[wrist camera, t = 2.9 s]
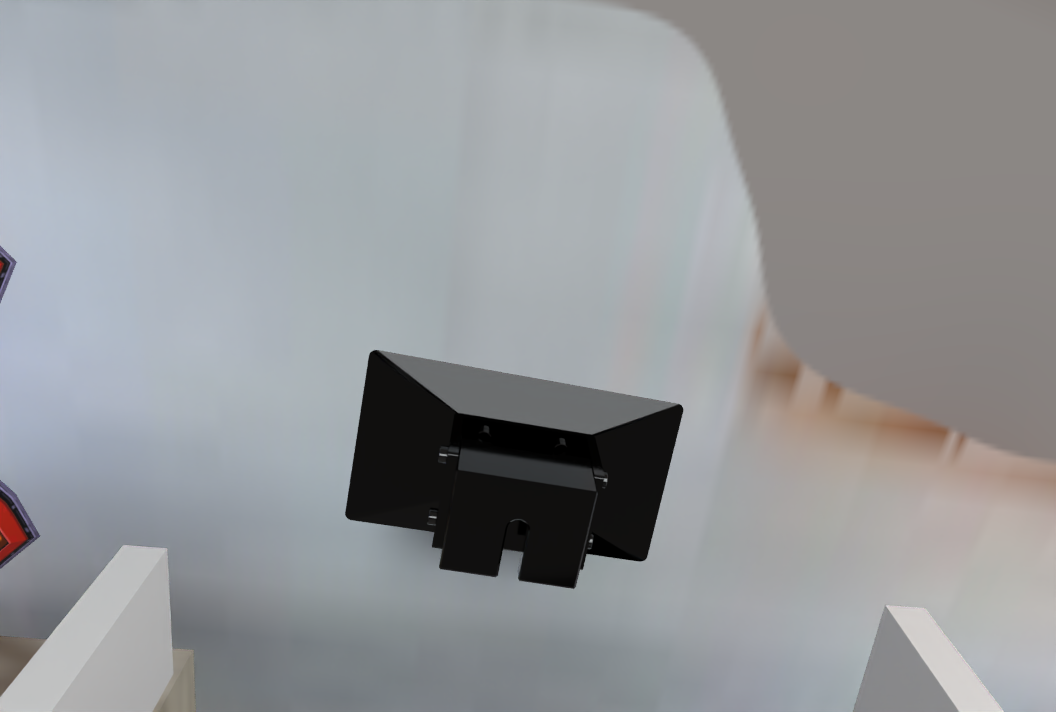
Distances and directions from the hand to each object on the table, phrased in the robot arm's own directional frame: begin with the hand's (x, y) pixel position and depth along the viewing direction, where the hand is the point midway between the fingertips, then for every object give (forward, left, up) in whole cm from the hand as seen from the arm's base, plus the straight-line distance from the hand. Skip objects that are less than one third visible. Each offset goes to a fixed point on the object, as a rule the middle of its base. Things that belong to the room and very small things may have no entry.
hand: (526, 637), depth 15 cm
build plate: (0, +1, -10) cm, 10 cm away
